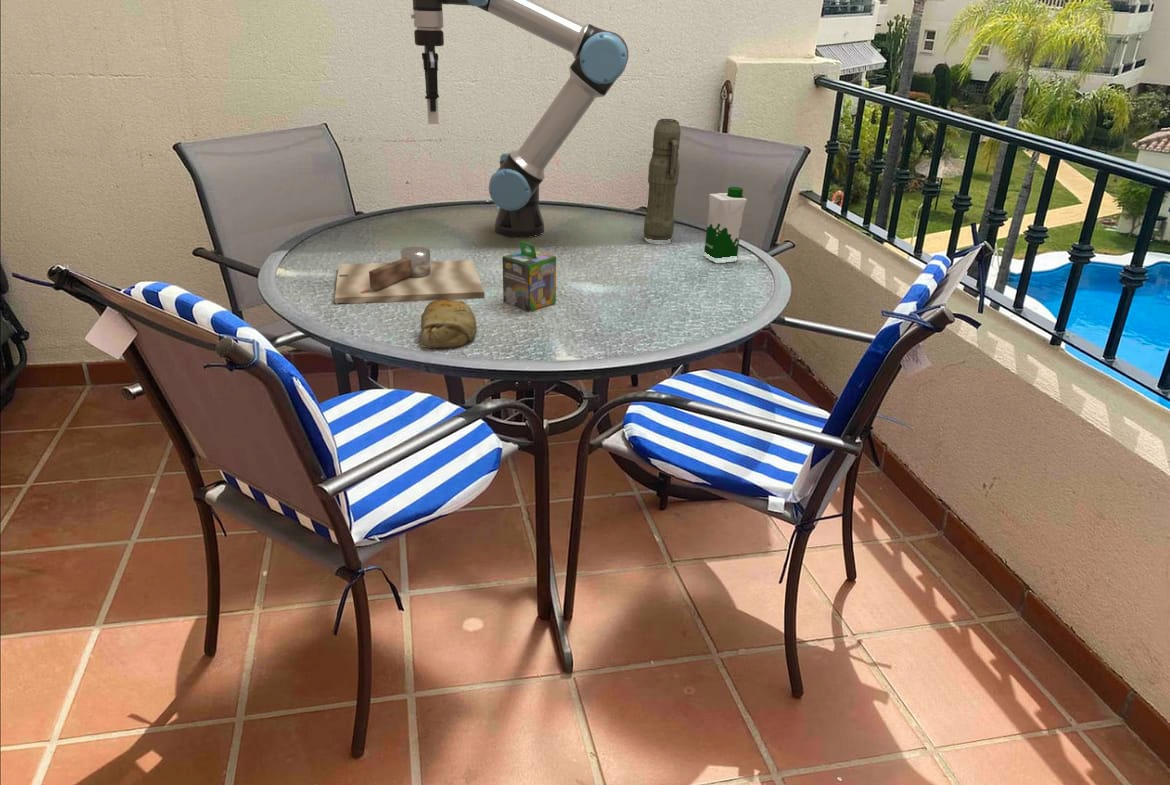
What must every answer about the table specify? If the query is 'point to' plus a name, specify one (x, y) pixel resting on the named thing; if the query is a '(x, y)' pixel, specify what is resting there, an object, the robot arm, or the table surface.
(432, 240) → the table surface
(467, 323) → the pastry
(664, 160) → the thermos
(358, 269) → the dial board
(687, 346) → the table surface
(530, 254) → the chalk box
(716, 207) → the milk carton
